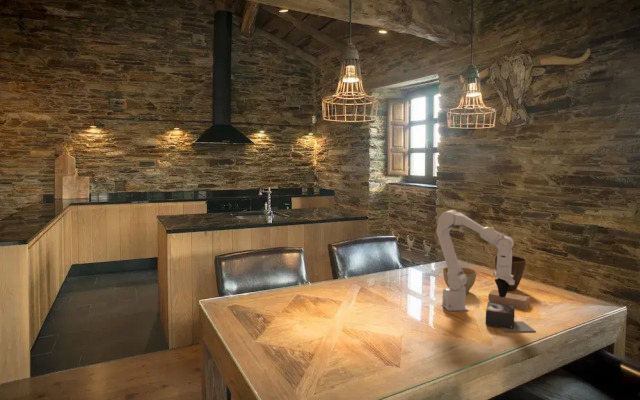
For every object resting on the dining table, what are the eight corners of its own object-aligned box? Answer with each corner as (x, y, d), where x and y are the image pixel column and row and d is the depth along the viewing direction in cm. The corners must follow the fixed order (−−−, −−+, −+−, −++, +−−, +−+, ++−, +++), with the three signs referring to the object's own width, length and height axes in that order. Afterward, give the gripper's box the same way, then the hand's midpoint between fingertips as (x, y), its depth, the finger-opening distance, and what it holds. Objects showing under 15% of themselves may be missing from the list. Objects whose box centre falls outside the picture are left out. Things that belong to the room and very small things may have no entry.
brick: (529, 305, 193) (530, 295, 192) (526, 310, 186) (526, 300, 185) (492, 298, 202) (492, 288, 202) (487, 302, 196) (488, 293, 195)
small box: (514, 305, 172) (515, 314, 162) (514, 320, 173) (514, 330, 163) (487, 301, 176) (486, 309, 167) (486, 315, 177) (485, 325, 167)
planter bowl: (478, 290, 214) (479, 269, 212) (471, 298, 200) (472, 276, 199) (447, 284, 222) (448, 264, 221) (438, 292, 209) (439, 271, 207)
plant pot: (496, 282, 227) (498, 253, 225) (526, 287, 218) (528, 257, 217) (489, 289, 215) (491, 259, 213) (521, 295, 206) (523, 263, 204)
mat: (505, 332, 161) (505, 331, 161) (494, 322, 171) (494, 321, 171) (535, 332, 162) (535, 330, 162) (522, 322, 171) (522, 321, 171)
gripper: (522, 269, 168) (520, 302, 169) (504, 260, 182) (503, 291, 184) (505, 269, 167) (503, 302, 169) (489, 260, 182) (487, 291, 183)
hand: (502, 296), depth 176 cm, fingers closed
